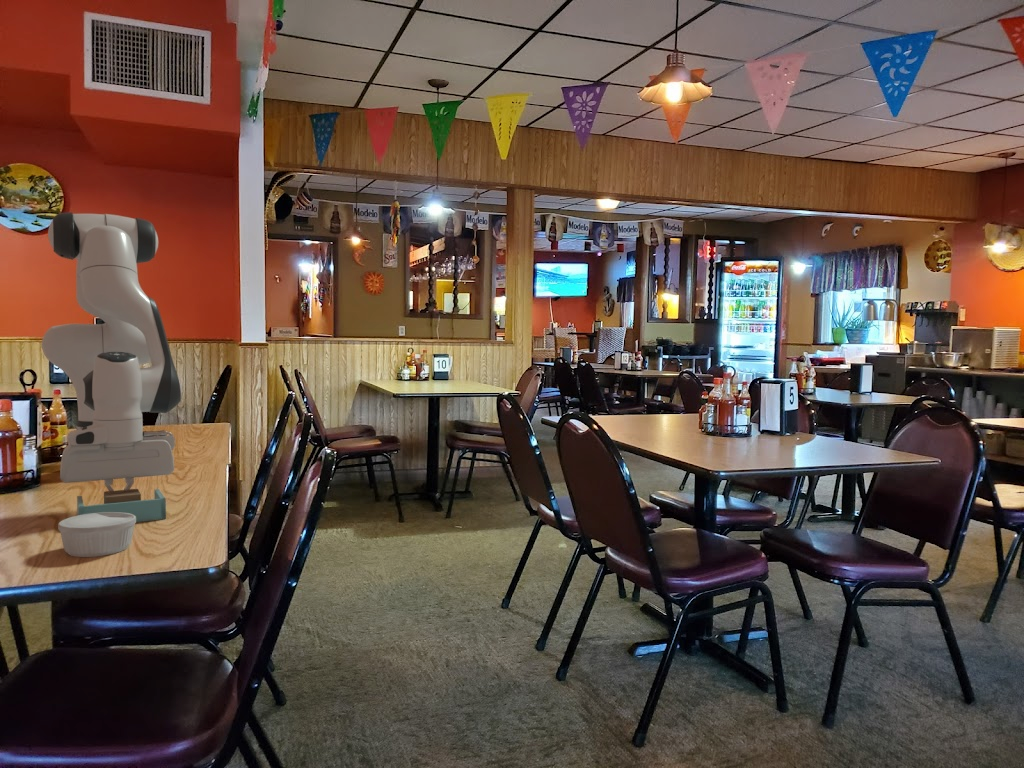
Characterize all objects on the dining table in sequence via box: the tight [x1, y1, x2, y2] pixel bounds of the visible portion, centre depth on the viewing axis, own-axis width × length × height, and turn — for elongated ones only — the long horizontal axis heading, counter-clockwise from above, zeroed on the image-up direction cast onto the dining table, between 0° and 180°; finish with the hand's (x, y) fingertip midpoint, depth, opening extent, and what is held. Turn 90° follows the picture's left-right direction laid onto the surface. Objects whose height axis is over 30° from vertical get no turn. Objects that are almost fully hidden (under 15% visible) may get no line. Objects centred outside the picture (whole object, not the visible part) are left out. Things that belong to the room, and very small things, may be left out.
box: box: [76, 488, 167, 523], centre depth 140 cm, size 11×15×4 cm
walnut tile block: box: [103, 488, 142, 504], centre depth 141 cm, size 6×6×5 cm
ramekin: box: [57, 512, 137, 558], centre depth 119 cm, size 11×11×5 cm
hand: (119, 500), depth 144 cm, fingers closed
